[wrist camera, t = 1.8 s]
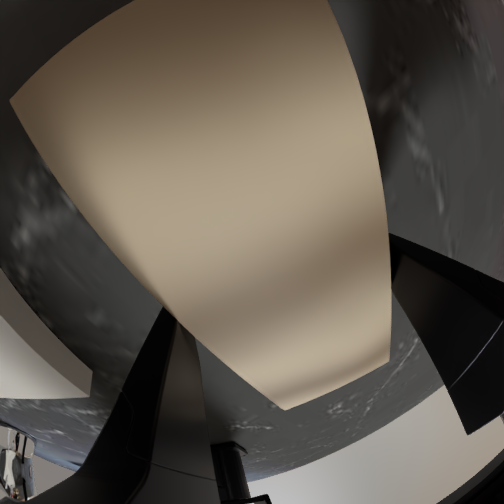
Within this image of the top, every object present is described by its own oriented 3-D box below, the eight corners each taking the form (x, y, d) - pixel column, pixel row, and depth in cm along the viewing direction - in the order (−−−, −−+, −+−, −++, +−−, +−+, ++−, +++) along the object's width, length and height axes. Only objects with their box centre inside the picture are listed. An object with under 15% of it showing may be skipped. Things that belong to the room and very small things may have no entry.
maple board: (368, 327, 14) (389, 361, 12) (272, 372, 15) (284, 410, 13) (264, -16, 4) (300, -50, 2) (59, 89, 5) (9, 100, 3)
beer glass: (-16, 413, 14) (-19, 519, 2) (29, 431, 17) (33, 544, 5) (5, 432, 18) (5, 523, 6) (46, 446, 20) (51, 541, 8)
